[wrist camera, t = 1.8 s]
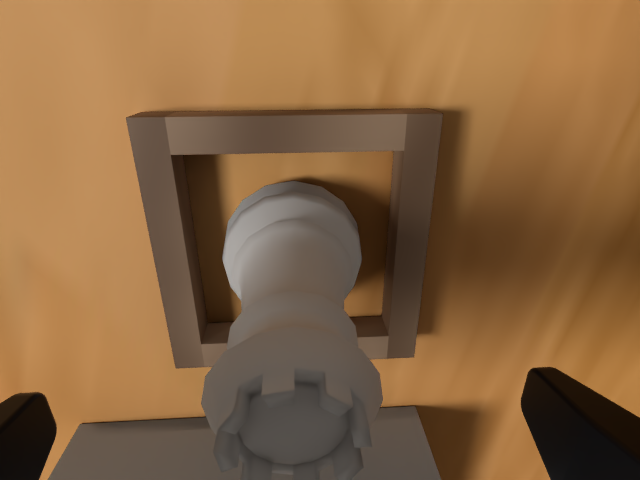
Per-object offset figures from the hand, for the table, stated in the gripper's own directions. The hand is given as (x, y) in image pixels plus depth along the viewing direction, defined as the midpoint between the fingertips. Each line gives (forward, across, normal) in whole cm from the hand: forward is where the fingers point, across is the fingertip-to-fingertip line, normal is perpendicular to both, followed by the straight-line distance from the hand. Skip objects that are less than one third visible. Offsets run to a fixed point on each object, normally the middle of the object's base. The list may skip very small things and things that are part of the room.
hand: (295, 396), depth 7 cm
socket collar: (+7, 0, 0) cm, 7 cm away
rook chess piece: (+7, 0, 0) cm, 7 cm away
